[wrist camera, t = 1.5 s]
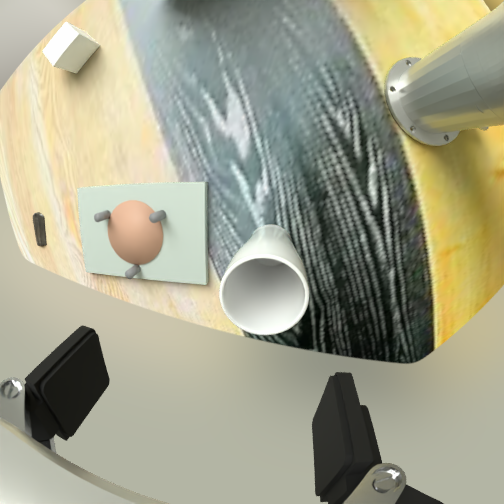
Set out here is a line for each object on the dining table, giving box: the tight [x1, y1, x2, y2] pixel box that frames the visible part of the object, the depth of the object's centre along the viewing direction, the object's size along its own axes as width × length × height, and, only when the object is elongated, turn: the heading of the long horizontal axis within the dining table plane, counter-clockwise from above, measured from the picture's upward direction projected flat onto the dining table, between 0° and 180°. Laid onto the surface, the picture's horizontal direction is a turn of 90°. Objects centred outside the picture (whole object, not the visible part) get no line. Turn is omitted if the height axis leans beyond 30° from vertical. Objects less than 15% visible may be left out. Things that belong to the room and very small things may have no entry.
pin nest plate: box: [78, 182, 208, 285], centre depth 33 cm, size 20×13×4 cm, turn 88°
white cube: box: [42, 22, 100, 74], centre depth 25 cm, size 6×6×6 cm
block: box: [33, 212, 47, 246], centre depth 37 cm, size 4×6×2 cm, turn 1°
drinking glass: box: [219, 224, 309, 335], centre depth 27 cm, size 7×7×15 cm
